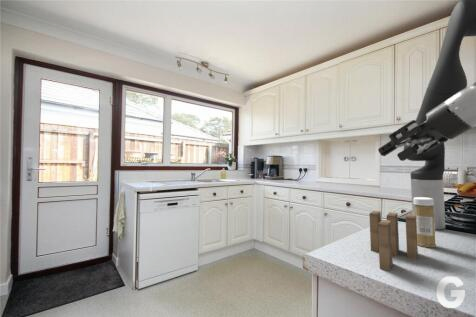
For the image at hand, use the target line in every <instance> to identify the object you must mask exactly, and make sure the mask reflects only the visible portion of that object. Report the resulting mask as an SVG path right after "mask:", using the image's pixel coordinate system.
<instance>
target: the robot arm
mask: <svg viewBox="0 0 476 317" xmlns="http://www.w3.org/2000/svg"><path fill="white" fill-rule="evenodd" d="M465 37H466V38H467V37H476V0H459V1H458V2H457V3H456V4H455V6H454V8H453V10H452V11H451V14H450V16H449V20H448V23H447V26H446V29H445V33H444V36H443V40H442V44H441V47H440V52H439V55H438V58H437V61H436V64H435V67H434V70H433V72H432V75H431V77H430V79H429V82H428V85H427V87H426V90H425V93H424V96H423V99H422V103H421V105H420V108H419V112H418V113H417V116H416V118H415V119H413V120H411V121H409V122H407V123H406V124H404V125H403V126H401V127H400V128H398V129H397V130H395V131H393V133H391V134H389V135H388V138H389V139H390V140H389V141H388V142H386V143H385V144H383V145H382V146H381V147H379V148H377V149H378V153H379V154H380V156H383V157H386V156H388V155H389V154H390V153H392V152H394V151H395V150H397V149H398V148H401V147H403V146H404V147H403V150H402V151H400V152H398V153H397V154H396V157H397V158H398V160H400V161H401V162H402V161H406V160H408V161H411V162H425V163H424V165H423V166H422V167H420V168H418V169H414V170H412V171H410V190H411V191H410V192H411V193H410V194H411V211H412V212H411V214H414V215H415V206H414V201H413V199H414V198H415V197H426V198H432V199H434V205H433V206H434V207H433V211H434V224H435V230H445V229H446V215H445V214H446V213H445V209H446V208H445V194H444V193H445V192H444V179H443V178H444V172H445V169H446V168H445V162H446V158H445V157H446V151H445V150H446V148H445V143H446V142H447V141H448V140H453V139H455V138H457V137H458V136H460V135H462V134H464V133H466V132H467V131H469V130H472V129H473V128H475V127H476V81H475V82H473V84H471V85H468V79H467V76H466V73H465V70H464V68H463V65H462V63H461V58H460V51H461V46H462V42H463V39H464V38H465Z"/></svg>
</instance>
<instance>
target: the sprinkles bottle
mask: <svg viewBox="0 0 476 317" xmlns="http://www.w3.org/2000/svg"><path fill="white" fill-rule="evenodd" d="M413 201H414V206H415V215H416V223H417V246H420V247H424V248H436V247H437V244H436V229H435V224H434V211H433V207H434V206H433V205H434V199H432V198H426V197H415V198H414V199H413Z"/></svg>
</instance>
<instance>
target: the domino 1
mask: <svg viewBox="0 0 476 317" xmlns="http://www.w3.org/2000/svg"><path fill="white" fill-rule="evenodd" d="M378 238H379V252H378V253H379V254H378V256H379V257H378V258H379V269H380V270H383V271H386V272H387V271H388V272H390V270H391V269H392V266H393V264H394V261H393V256H394V255H392V233H391V221H389V220H387V219H381V221H380V222H379V223H378Z"/></svg>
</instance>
